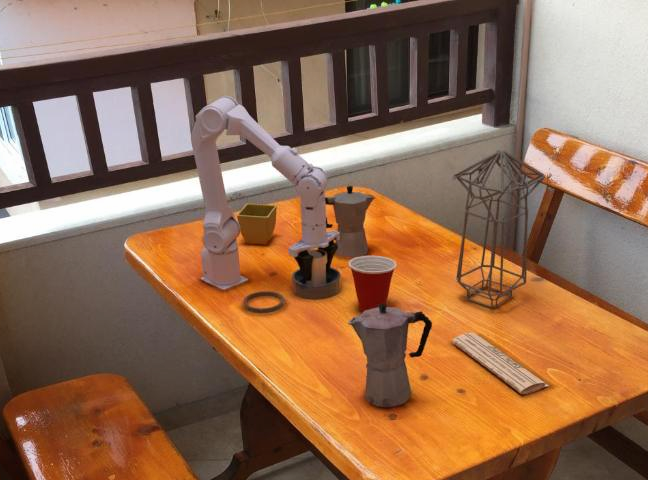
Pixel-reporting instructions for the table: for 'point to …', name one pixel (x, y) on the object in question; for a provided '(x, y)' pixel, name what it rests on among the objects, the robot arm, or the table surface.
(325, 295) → the planter
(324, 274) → the clay pot
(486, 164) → the geometric lantern
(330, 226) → the coffeepot
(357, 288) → the plastic cup
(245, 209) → the flower pot
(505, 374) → the newspaper
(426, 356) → the table surface
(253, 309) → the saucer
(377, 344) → the moka pot
